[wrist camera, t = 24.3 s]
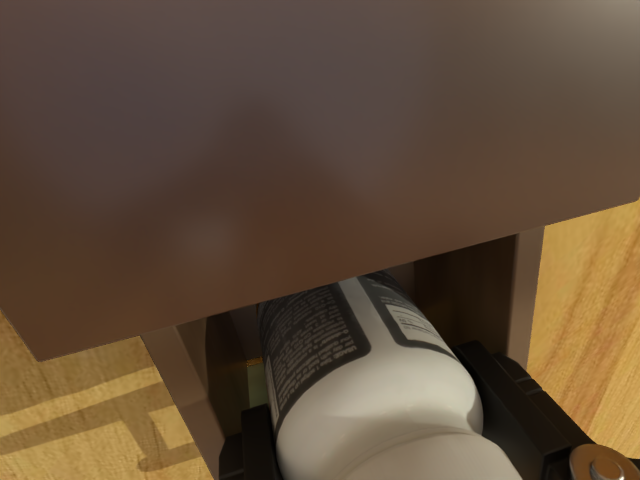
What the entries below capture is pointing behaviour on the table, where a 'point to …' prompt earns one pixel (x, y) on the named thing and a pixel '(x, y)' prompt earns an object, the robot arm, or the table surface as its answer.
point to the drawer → (417, 281)
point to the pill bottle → (369, 389)
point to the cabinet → (289, 146)
